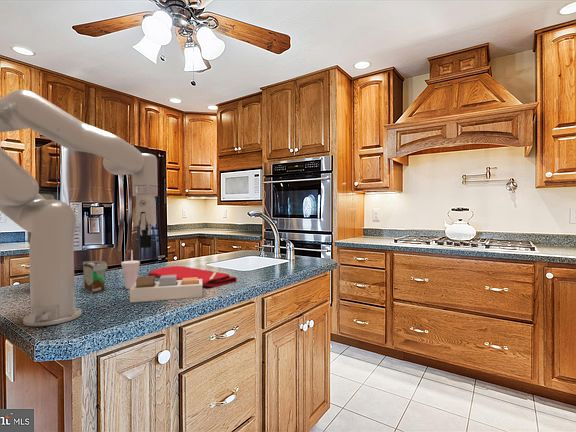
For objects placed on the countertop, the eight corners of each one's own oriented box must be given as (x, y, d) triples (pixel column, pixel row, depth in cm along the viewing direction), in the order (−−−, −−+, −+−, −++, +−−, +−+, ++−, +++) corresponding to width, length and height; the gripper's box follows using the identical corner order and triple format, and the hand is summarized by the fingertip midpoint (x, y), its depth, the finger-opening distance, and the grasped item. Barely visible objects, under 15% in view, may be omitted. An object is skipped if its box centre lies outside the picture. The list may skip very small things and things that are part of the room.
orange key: (197, 289, 109) (197, 280, 109) (182, 290, 108) (182, 281, 108) (197, 286, 114) (197, 277, 114) (182, 287, 112) (182, 278, 112)
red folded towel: (179, 271, 155) (179, 263, 155) (237, 282, 130) (237, 273, 130) (147, 276, 143) (147, 268, 143) (205, 290, 118) (205, 280, 118)
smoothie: (132, 290, 117) (132, 251, 116) (117, 289, 118) (116, 251, 118) (144, 286, 123) (143, 249, 123) (129, 285, 124) (128, 249, 124)
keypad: (202, 297, 107) (202, 285, 107) (129, 302, 101) (129, 289, 101) (202, 289, 117) (202, 278, 117) (135, 294, 111) (135, 282, 111)
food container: (113, 291, 116) (112, 263, 115) (93, 294, 111) (93, 265, 111) (101, 285, 124) (101, 259, 124) (83, 288, 119) (82, 261, 119)
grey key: (175, 287, 107) (175, 277, 107) (159, 288, 106) (159, 278, 106) (176, 283, 112) (176, 274, 112) (161, 284, 111) (161, 275, 110)
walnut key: (153, 288, 105) (152, 278, 105) (136, 289, 104) (136, 279, 104) (155, 285, 110) (154, 275, 110) (139, 286, 109) (138, 276, 109)
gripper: (154, 190, 100) (155, 249, 101) (160, 193, 115) (160, 244, 115) (127, 190, 98) (128, 250, 99) (137, 192, 113) (137, 245, 113)
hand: (146, 247), depth 107 cm, fingers closed
